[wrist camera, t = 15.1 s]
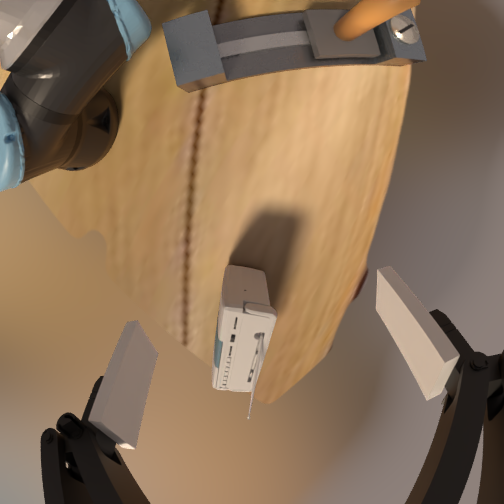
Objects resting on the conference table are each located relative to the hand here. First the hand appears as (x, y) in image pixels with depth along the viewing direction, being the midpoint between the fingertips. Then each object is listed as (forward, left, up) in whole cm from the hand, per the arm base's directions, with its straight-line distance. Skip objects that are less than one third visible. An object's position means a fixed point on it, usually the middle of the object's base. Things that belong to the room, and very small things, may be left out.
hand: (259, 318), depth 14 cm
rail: (-12, +22, -32) cm, 40 cm away
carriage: (-9, +27, -29) cm, 41 cm away
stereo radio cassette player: (+17, -18, -32) cm, 40 cm away
